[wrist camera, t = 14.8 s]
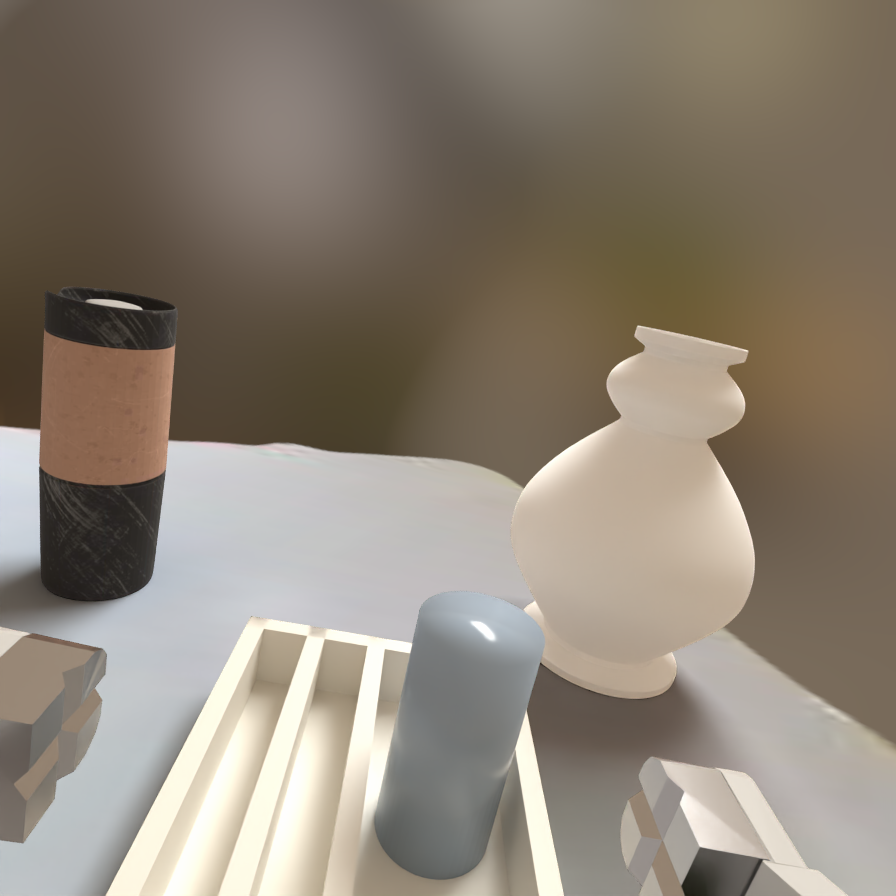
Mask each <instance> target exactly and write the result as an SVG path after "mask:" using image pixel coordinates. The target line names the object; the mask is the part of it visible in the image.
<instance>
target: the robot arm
mask: <svg viewBox="0 0 896 896" xmlns="http://www.w3.org/2000/svg"><path fill="white" fill-rule="evenodd" d="M106 659H107V654H106V653H105V651H104V650H103V649H102V648H97V647H93V646H88V645H84V644H79V643H74V642H70V641H65V640H61V639H56V638H52V637H47V636H43V635H38V634H33V633H32V634H29V633H27V632H22V631H17V630H13V629H8V628H3V627H0V840H2V841H10V842H17V843H24V841H25V840H26V838H27V837H28V836H29V834H30V833H31V831H32V830H33V829H34V827H35V826H36V824H37V823H38V822H39V820H40V819H41V817H42V816H43V814H44V813H45V812H46V810H47V809H48V807H49V806H50V805H51V803H52V802H53V800H54V799H55V790H56V781H57V780H58V779H60V778H62V777H64V776H66V775H68V774H70V773H72V772H74V770H75V769H76V767H77V766H78V764H79V763H80V761H81V760H82V758H83V757H84V756H85V754H86V752H87V750H88V748H89V745H90V743H91V741H92V739H93V737H94V735H95V733H96V729H97V725H98V722H99V718H100V714H101V707H102V699H101V697H100V696H99V694H98V693H97V691H96V690H95V687H96V685H97V684H98V683H99V682H100V680H101V679H102V678H103V676H104V675H105V672H106ZM638 778H639V780H640V783H641V786H642V789H643V790H642V791H640V792H639V793H637V794H636V795H634V796H633V797H631V798H630V799H628V802H627V805H626V808H625V810H624V813H623V816H622V822H621V834H620V839H621V847H622V854H623V857H624V861H625V864H626V867H627V870H628V871H629V872H630V873H631V874H632V876H633V877H634V878H635V879H636V880H637V881H638V882H639V883H640V885H641V886H642V888H641V890H640V893H639V895H638V896H848V895H847V894H845V893H844V892H843V891H842V890H841V889H840V888H838V887H837V886H836V885H835V884H834V883H832V882H831V881H830V880H829V879H828V878H826V877H825V876H824V875H823V874H822V873H820V872H819V871H818V870H813V869H808V868H807V866H806V865H805V863H804V861H803V860H802V858H801V856H800V855H799V853H798V852H797V850H796V848H795V847H794V845H793V844H792V842H791V840H790V839H789V837H788V835H787V834H786V832H785V831H784V829H783V827H782V826H781V824H780V822H779V821H778V819H777V818H776V816H775V814H774V813H773V811H772V810H771V808H770V806H769V805H768V803H767V801H766V800H765V798H764V797H763V795H762V793H761V792H760V790H759V789H758V787H757V785H756V784H755V782H754V780H753V779H752V778H750V777H749V776H748V775H747V774H745V773H744V772H738V771H732V770H726V769H720V768H715V767H713V768H709V767H704V766H699V765H693V764H688V763H683V762H678V761H672V760H667V759H662V758H656V757H650V758H649V759H648V760H647V761H646V762H645V763H644V764H643V766H642V769H641V771H640V773H639V776H638Z"/></svg>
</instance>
